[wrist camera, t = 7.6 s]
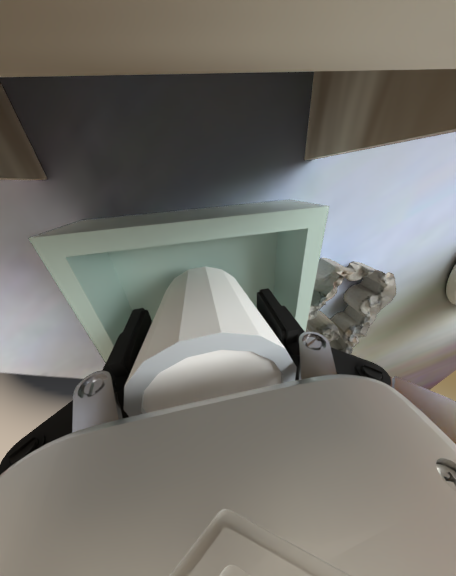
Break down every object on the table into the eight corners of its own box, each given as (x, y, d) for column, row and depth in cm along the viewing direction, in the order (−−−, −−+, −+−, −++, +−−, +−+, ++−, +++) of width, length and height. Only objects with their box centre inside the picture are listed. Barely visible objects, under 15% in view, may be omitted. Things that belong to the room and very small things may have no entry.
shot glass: (147, 256, 11) (96, 344, 5) (257, 257, 12) (321, 328, 6) (159, 341, 14) (137, 454, 8) (245, 334, 16) (279, 429, 10)
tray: (289, 199, 13) (329, 205, 9) (278, 325, 19) (299, 361, 15) (81, 220, 12) (27, 238, 8) (140, 350, 18) (126, 396, 14)
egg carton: (309, 249, 16) (342, 268, 12) (374, 263, 18) (419, 282, 14) (269, 341, 21) (285, 373, 17) (324, 343, 23) (349, 373, 19)
